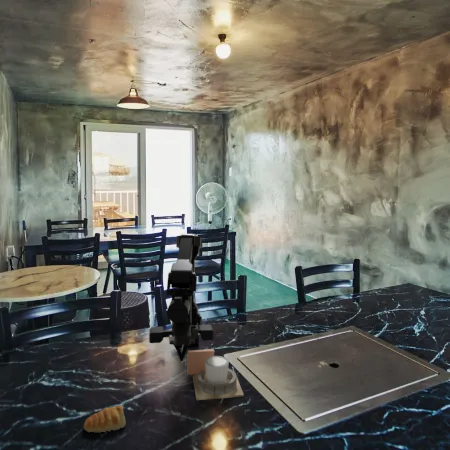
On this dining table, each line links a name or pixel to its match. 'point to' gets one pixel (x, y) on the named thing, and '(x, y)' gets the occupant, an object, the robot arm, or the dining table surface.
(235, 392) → the dock
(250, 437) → the dining table surface
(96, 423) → the pastry
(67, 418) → the dining table surface
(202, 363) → the block
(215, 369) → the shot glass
